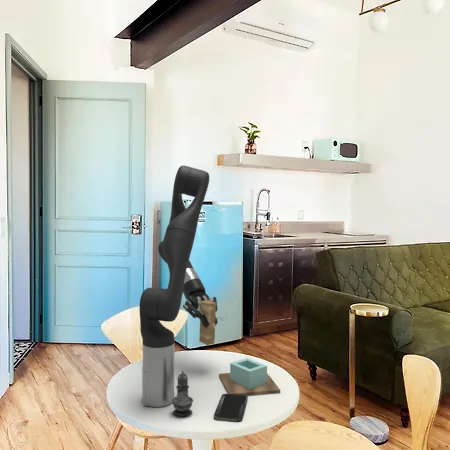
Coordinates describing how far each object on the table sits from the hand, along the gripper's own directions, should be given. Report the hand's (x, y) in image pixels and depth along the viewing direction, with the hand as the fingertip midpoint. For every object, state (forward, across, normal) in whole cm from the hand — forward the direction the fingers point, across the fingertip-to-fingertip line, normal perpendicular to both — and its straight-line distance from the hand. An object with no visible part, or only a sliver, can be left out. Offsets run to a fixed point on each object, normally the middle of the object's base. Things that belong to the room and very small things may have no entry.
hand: (211, 325), depth 151 cm
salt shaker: (+24, -23, +1) cm, 33 cm away
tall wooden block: (+3, 0, +6) cm, 7 cm away
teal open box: (+22, +4, +2) cm, 22 cm away
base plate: (+22, +4, +2) cm, 22 cm away
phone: (+29, -11, -4) cm, 31 cm away
